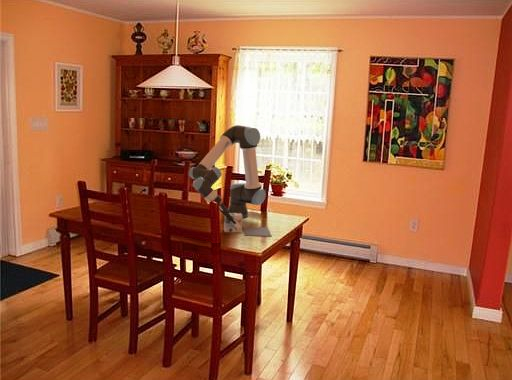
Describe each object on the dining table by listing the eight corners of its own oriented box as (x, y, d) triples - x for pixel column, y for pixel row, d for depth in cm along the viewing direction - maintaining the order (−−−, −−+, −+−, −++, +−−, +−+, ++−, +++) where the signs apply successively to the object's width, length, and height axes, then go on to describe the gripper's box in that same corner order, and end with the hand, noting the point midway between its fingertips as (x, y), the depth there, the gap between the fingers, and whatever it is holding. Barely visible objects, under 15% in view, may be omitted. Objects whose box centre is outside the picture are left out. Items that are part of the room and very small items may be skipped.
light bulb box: (224, 232, 290) (225, 215, 288) (223, 229, 296) (224, 212, 294) (242, 232, 292) (243, 215, 290) (240, 229, 298) (241, 212, 296)
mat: (242, 227, 305) (242, 226, 305) (267, 228, 306) (267, 227, 306) (245, 235, 285) (245, 235, 285) (271, 236, 287) (271, 235, 287)
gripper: (208, 199, 299) (233, 225, 304) (208, 206, 280) (235, 234, 284) (217, 191, 299) (241, 217, 303) (218, 197, 279) (244, 225, 284)
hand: (238, 225), depth 294 cm, fingers closed on light bulb box, 7 cm apart
